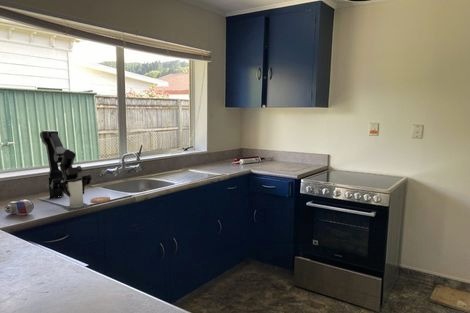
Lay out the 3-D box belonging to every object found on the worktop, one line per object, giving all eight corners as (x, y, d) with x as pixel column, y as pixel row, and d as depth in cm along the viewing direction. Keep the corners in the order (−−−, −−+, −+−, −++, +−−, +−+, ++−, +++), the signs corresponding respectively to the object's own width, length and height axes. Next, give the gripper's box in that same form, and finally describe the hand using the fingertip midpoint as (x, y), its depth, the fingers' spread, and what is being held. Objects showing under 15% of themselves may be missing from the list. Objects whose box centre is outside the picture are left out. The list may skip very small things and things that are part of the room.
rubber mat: (61, 207, 173) (61, 207, 173) (83, 203, 181) (83, 202, 181) (69, 212, 165) (69, 211, 165) (91, 207, 173) (91, 206, 173)
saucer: (89, 204, 179) (88, 202, 179) (92, 199, 189) (92, 197, 189) (109, 202, 181) (108, 200, 181) (111, 198, 191) (111, 196, 191)
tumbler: (68, 208, 169) (66, 183, 168) (71, 205, 176) (69, 181, 174) (82, 207, 171) (80, 182, 169) (84, 204, 177) (83, 180, 175)
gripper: (50, 163, 167) (59, 188, 160) (89, 159, 179) (98, 182, 173) (47, 177, 173) (55, 202, 167) (84, 172, 186) (94, 195, 179)
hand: (76, 195), depth 171 cm, fingers closed on tumbler, 7 cm apart
